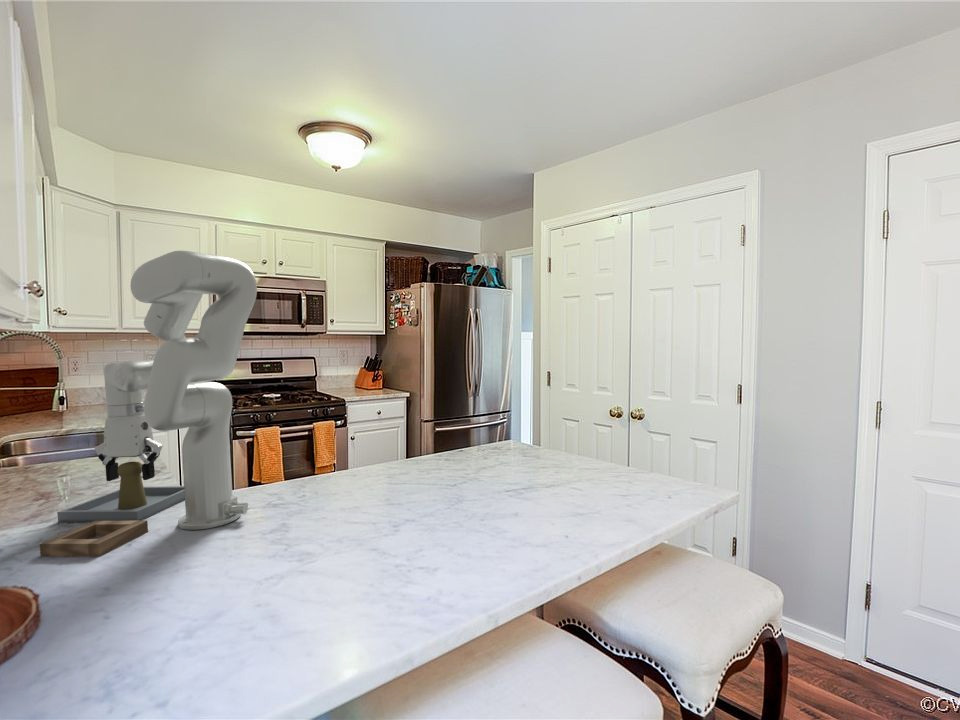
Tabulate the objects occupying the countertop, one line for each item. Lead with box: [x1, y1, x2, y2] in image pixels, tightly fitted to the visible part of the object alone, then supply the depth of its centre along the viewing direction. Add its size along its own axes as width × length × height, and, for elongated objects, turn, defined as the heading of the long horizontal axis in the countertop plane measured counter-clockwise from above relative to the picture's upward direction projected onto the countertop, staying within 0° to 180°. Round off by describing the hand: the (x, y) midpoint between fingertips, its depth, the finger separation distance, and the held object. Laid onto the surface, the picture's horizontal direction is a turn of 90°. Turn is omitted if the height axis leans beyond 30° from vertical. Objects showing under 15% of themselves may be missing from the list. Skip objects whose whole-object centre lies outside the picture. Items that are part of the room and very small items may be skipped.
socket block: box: [39, 519, 149, 557], centre depth 102 cm, size 12×12×2 cm
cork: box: [118, 461, 147, 510], centre depth 125 cm, size 6×6×11 cm
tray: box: [56, 485, 185, 524], centre depth 125 cm, size 20×20×2 cm
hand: (130, 479), depth 125 cm, fingers open, 9 cm apart
